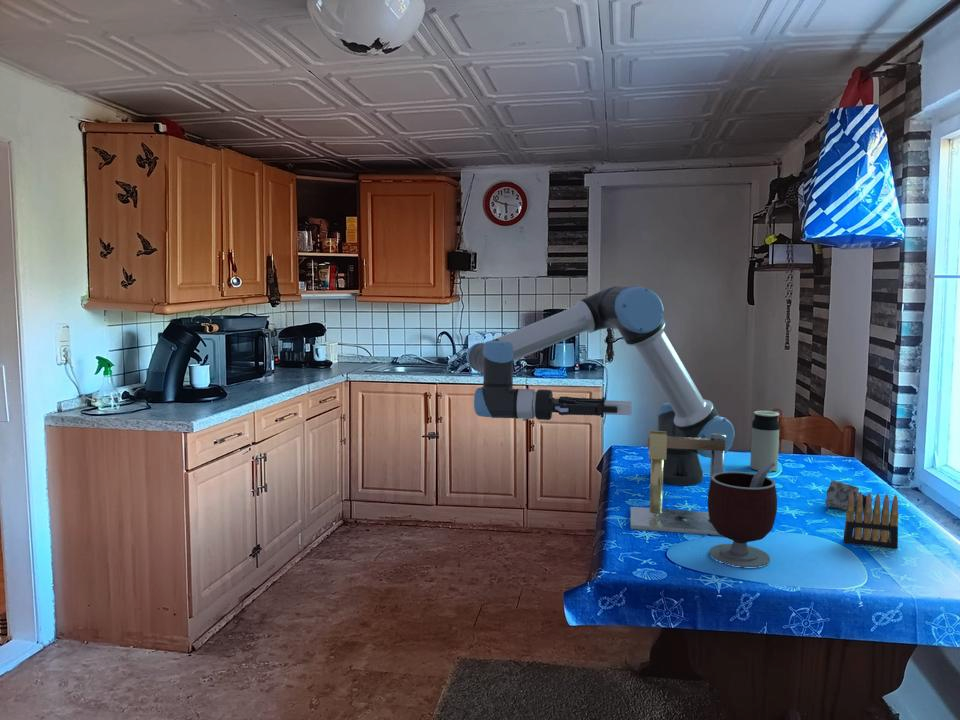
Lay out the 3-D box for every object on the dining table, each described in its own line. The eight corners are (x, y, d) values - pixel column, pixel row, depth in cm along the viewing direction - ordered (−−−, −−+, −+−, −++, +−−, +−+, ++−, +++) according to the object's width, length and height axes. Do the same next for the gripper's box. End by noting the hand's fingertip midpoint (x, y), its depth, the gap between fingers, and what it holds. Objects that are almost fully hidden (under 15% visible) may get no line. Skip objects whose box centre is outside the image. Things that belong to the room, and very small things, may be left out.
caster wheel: (864, 512, 192) (872, 518, 183) (819, 499, 196) (824, 504, 186) (871, 488, 192) (879, 493, 182) (826, 476, 195) (831, 480, 186)
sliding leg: (647, 517, 175) (650, 434, 173) (646, 510, 181) (649, 429, 178) (664, 519, 174) (667, 435, 172) (663, 511, 180) (666, 430, 177)
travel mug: (781, 472, 222) (784, 415, 220) (755, 472, 222) (758, 415, 220) (771, 465, 230) (774, 410, 228) (746, 465, 230) (749, 410, 228)
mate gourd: (737, 574, 145) (742, 478, 143) (691, 550, 158) (695, 461, 156) (794, 562, 151) (799, 470, 149) (746, 540, 164) (750, 455, 162)
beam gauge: (630, 528, 171) (633, 436, 169) (630, 510, 185) (633, 425, 183) (745, 537, 166) (749, 442, 164) (736, 517, 180) (740, 429, 177)
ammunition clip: (895, 546, 161) (899, 494, 160) (897, 548, 159) (901, 496, 158) (843, 540, 165) (846, 489, 163) (844, 543, 163) (847, 491, 161)
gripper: (539, 413, 188) (631, 417, 183) (531, 425, 173) (631, 430, 168) (540, 385, 187) (631, 388, 183) (531, 394, 172) (631, 398, 167)
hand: (631, 408), depth 175 cm, fingers open, 3 cm apart
